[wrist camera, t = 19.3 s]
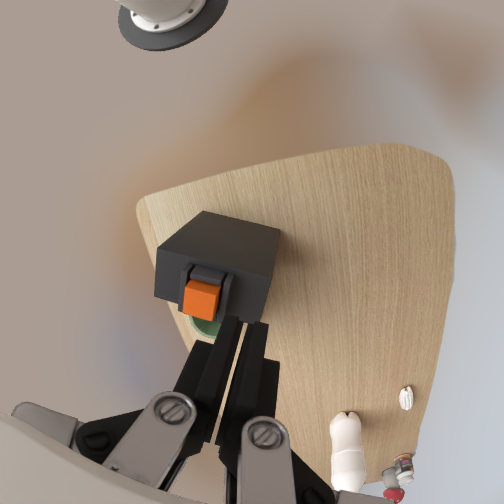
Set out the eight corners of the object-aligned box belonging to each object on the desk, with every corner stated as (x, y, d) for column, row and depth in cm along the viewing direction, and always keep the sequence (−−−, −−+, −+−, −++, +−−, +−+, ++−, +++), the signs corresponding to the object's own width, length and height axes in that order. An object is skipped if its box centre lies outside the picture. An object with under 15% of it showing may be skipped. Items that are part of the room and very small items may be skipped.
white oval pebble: (410, 381, 51) (413, 391, 48) (411, 402, 53) (414, 410, 50) (397, 386, 51) (400, 395, 49) (399, 406, 54) (401, 415, 51)
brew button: (192, 276, 28) (185, 287, 26) (221, 284, 28) (216, 295, 26) (189, 301, 29) (182, 313, 27) (217, 309, 29) (211, 321, 27)
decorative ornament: (378, 470, 67) (382, 507, 53) (396, 463, 64) (402, 500, 51) (386, 477, 69) (389, 511, 55) (403, 470, 66) (408, 504, 53)
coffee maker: (202, 210, 44) (148, 255, 27) (280, 229, 43) (270, 287, 26) (190, 298, 50) (147, 368, 33) (257, 317, 49) (238, 396, 33)
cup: (207, 267, 46) (191, 291, 38) (251, 278, 45) (242, 305, 38) (202, 303, 48) (187, 331, 41) (242, 314, 48) (233, 344, 40)
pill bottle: (413, 452, 61) (419, 477, 52) (405, 460, 64) (409, 485, 55) (398, 453, 62) (403, 479, 53) (390, 462, 64) (394, 487, 55)
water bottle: (360, 422, 57) (369, 512, 34) (331, 427, 59) (332, 517, 36) (358, 405, 55) (368, 503, 32) (327, 411, 56) (328, 509, 33)
